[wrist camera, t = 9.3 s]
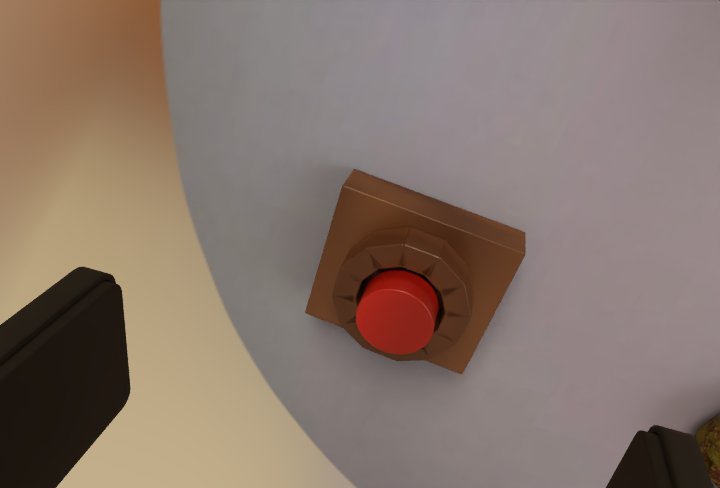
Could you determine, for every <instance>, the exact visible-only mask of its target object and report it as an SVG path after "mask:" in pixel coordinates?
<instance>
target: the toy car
mask: <svg viewBox="0 0 720 488" xmlns="http://www.w3.org/2000/svg"><path fill="white" fill-rule="evenodd" d="M695 438H696V440H697V442H698V444H699V447H700V450H701V452H702V455H703V458H704V461H705V464H706V467H707V470H708V473H709V476H710V479H711V480H712V481H713V482H714V483H715V484H716V485H717V486H718V487H719V488H720V415H718V416H716V417H714V418H713V419H711V420H710V421H708V422H707V423H706V424H704V425H703V426H702V427H701V428H700V429H699V430H698V432H697V434H696V436H695Z"/></svg>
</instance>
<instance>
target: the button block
mask: <svg viewBox="0 0 720 488" xmlns="http://www.w3.org/2000/svg"><path fill="white" fill-rule="evenodd" d="M524 256H525V232H522V231H520V230H517V229H514V228H512V227H509V226H506V225H503V224H501V223H498V222H495V221H493V220H490V219H487V218H485V217H482V216H479V215H477V214H474V213H471V212H469V211H466V210H463V209H460V208H458V207H455V206H452V205H450V204H447V203H444V202H442V201H439V200H436V199H434V198H431V197H428V196H425V195H423V194H420V193H417V192H415V191H412V190H409V189H407V188H404V187H401V186H399V185H396V184H393V183H391V182H388V181H385V180H382V179H380V178H377V177H374V176H372V175H369V174H366V173H364V172H361V171H358V170H356V169H354V170H353V172H352V173H351V174H350V176H349V177H348V179H347V180H346V181H345V183H344V184H343V186H342V189H341V193H340V196H339V199H338V203H337V206H336V209H335V213H334V216H333V220H332V223H331V226H330V230H329V233H328V237H327V240H326V243H325V247H324V250H323V254H322V257H321V260H320V264H319V267H318V271H317V274H316V277H315V281H314V284H313V287H312V291H311V294H310V298H309V301H308V304H307V308H306V311H305V313H307V314H309V315H312V316H314V317H317V318H320V319H322V320H325V321H327V322H330V323H332V324H335V325H337V326H340V327H342V328H344V329H345V330H346V331H347V332H348V333H349V334H350V335H351V336H352V337H353V338H354V339H355V340H356V341H357V342H358V343H359V344H360V345H361V346H362V347H363V348H364V347H365V349H368V350H370V351H373V352H375V353H378V354H380V355H383V356H385V357H388V358H390V359H393V360H396V361H409V360H426V361H429V362H432V363H434V364H437V365H439V366H442V367H444V368H447V369H449V370H452V371H454V372H457V373H460V374H463V372H464V370H465V368H466V366H467V364H468V362H469V361H470V359H471V357H472V355H473V353H474V351H475V349H476V347H477V345H478V343H479V342H480V340H481V338H482V336H483V334H484V332H485V330H486V328H487V326H488V324H489V323H490V321H491V319H492V317H493V315H494V313H495V311H496V309H497V307H498V305H499V304H500V302H501V300H502V298H503V296H504V294H505V292H506V290H507V288H508V286H509V285H510V283H511V281H512V279H513V277H514V275H515V273H516V271H517V269H518V267H519V266H520V264H521V262H522V260H523V258H524ZM390 270H403V271H408V272H411V273H414V274H416V275H418V276H420V277H422V278H423V279H424V280H426V281H427V282H428V283H429V284H430V286H431V287H432V288H433V290H434V291H435V293H436V296H437V299H438V313H437V318H436V322H435V327H434V331H433V335H432V337H431V339H430V341H429V342H428V343H427V344H426V345H425V346H424V347H423V348H421V349H420V350H418V351H416V352H413V353H409V354H391V353H387V352H384V351H381V350H379V349H377V348H376V347H374V346H372V345H371V344H370V343H369V342H368V341H366V339H365V338H364V337H363V336H362V334H361V333H360V331H359V329H358V326H357V323H356V310H357V307H358V305H359V303H360V300H361V298H362V296H363V293H364V291H365V289H366V287H367V285H368V283H369V282H370V281H371V280H372V279H373V278H374V277H375V276H377V275H378V274H380V273H383V272H386V271H390Z"/></svg>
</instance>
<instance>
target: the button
mask: <svg viewBox="0 0 720 488" xmlns="http://www.w3.org/2000/svg"><path fill="white" fill-rule="evenodd" d="M437 313H438V299H437V296H436V293H435V291H434V290H433V288H432V287H431V286H430V284H429V283H428V282H427V281H426V280H424V279H423V278H422V277H420V276H418V275H416V274H414V273H411V272H408V271H403V270H390V271H386V272H383V273H380V274H378V275H377V276H375V277H374V278H373V279H372V280H371V281H370V282H369V283H368V285H367V287H366V289H365V291H364V293H363V296H362V298H361V300H360V303H359V305H358V307H357V310H356V323H357V326H358V329H359V331H360V333H361V334H362V336H363V337H364V338H365V339H366V341H368V342H369V343H370V344H371V345H372V346H374V347H376V348H377V349H379V350H381V351H384V352H387V353H391V354H409V353H413V352H416V351H418V350H420V349H421V348H423V347H424V346H425V345H426V344H427V343H428V342H429V341H430V339H431V337H432V335H433V331H434V327H435V322H436V318H437Z"/></svg>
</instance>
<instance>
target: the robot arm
mask: <svg viewBox="0 0 720 488" xmlns="http://www.w3.org/2000/svg"><path fill="white" fill-rule="evenodd" d="M129 394H130V379H129V367H128V357H127V344H126V333H125V321H124V310H123V298H122V290H121V287H120V286H119V285H118V284H116V282H115V279H114V277H113V276H112V275H111V274H108V273H104V272H101V271H97V270H94V269H90V268H86V267H78V268H76V269H75V270H73V271H72V272H70V273H69V274H68V275H66V276H65V277H64V278H62V279H61V280H60V281H59V282H57V283H56V284H54V285H53V286H52V287H50V288H49V289H48V290H47V291H45V292H44V293H42V294H41V295H40V296H38V297H37V298H36V299H34V300H33V301H32V302H31V303H29V304H28V305H26V306H25V307H24V308H22V309H21V310H20V311H18V312H17V313H16V314H14V315H13V316H12V317H11V318H9V319H8V320H6V321H5V322H4V323H3V324H1V325H0V488H56V487H57V486H58V484H59V483H60V482H61V481H62V480H63V478H64V477H65V476H66V475H67V474H68V473H69V471H70V470H71V469H72V468H73V467H74V465H75V464H76V463H77V462H78V460H80V458H81V457H82V456H83V455H84V454H85V452H86V451H87V450H88V449H89V448H90V446H91V445H92V444H93V443H94V442H95V440H96V439H97V438H98V437H99V436H100V435H101V433H102V432H103V431H104V430H105V429H106V427H107V426H108V425H109V424H110V423H111V422H112V420H113V419H114V418H115V417H116V416H117V414H118V413H119V412H120V411H121V410H122V408H123V407H124V405H125V404H126V402H127V400H128V397H129ZM606 488H714V487H713V484H712V482H711V479H710V476H709V473H708V470H707V467H706V464H705V461H704V458H703V455H702V452H701V450H700V447H699V444H698V442H697V440H696V438H695V437H694V436H693V435H690V434H687V433H683V432H679V431H676V430H672V429H669V428H665V427H661V426H658V425H654V426H652V427H651V428H650V429H649V431H648V432H646V431H641V430H640V431H638V432H637V433H636V435H635V436H634V438H633V440H632V442H631V444H630V445H629V447H628V449H627V451H626V453H625V454H624V456H623V458H622V460H621V462H620V463H619V465H618V467H617V469H616V470H615V472H614V474H613V476H612V478H611V479H610V481H609V483H608V485H607V487H606Z"/></svg>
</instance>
